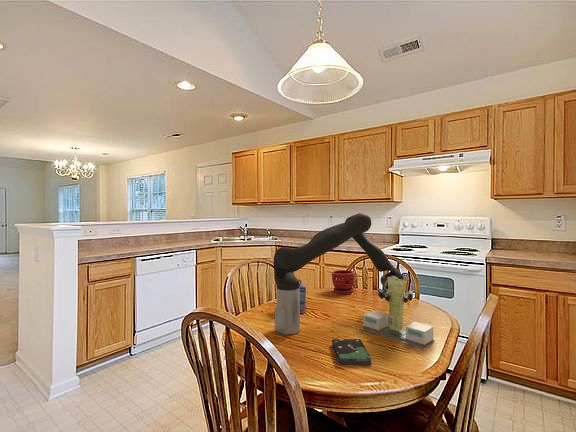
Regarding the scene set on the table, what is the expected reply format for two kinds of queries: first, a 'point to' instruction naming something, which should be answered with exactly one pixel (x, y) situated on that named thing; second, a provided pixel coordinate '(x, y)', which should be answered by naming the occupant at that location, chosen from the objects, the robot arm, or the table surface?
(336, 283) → the plant pot
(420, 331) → the mounted blocks
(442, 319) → the table surface
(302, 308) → the ink cartridge box
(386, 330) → the rail plate
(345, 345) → the disk drive
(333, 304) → the table surface
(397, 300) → the tube
